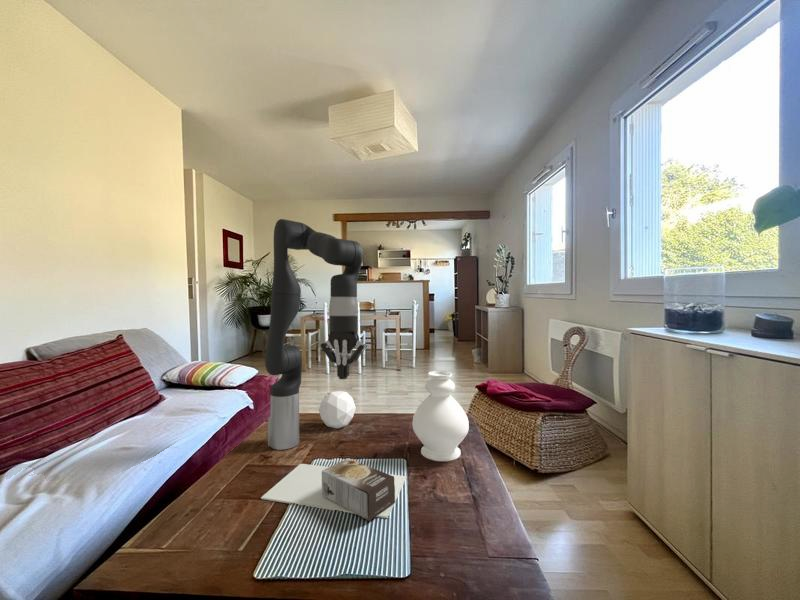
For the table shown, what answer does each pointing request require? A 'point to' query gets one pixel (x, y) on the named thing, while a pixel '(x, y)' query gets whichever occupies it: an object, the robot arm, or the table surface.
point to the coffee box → (358, 488)
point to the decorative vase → (440, 419)
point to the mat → (314, 489)
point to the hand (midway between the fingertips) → (343, 378)
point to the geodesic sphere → (337, 409)
